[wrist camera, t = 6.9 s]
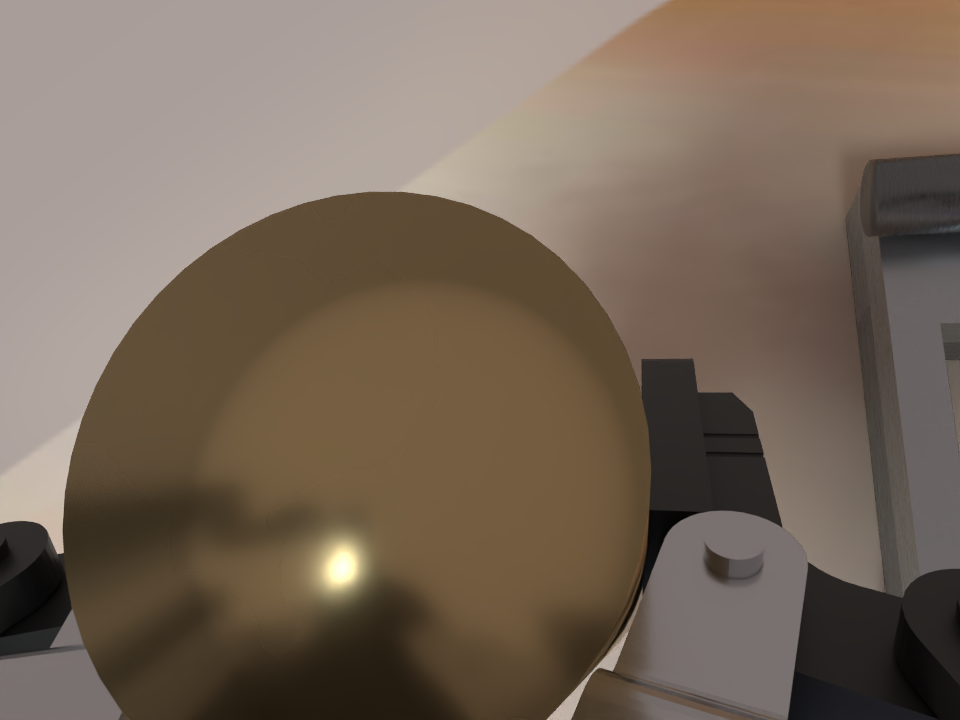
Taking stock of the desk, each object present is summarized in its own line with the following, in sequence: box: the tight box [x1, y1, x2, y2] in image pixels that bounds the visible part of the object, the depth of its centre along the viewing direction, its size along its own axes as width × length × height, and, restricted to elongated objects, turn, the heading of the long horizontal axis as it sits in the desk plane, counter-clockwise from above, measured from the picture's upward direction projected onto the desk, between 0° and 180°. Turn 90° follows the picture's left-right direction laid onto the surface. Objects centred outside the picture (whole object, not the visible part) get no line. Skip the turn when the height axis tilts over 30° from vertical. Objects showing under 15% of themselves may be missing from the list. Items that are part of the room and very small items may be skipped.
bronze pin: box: [63, 192, 651, 720], centre depth 10 cm, size 4×4×11 cm
